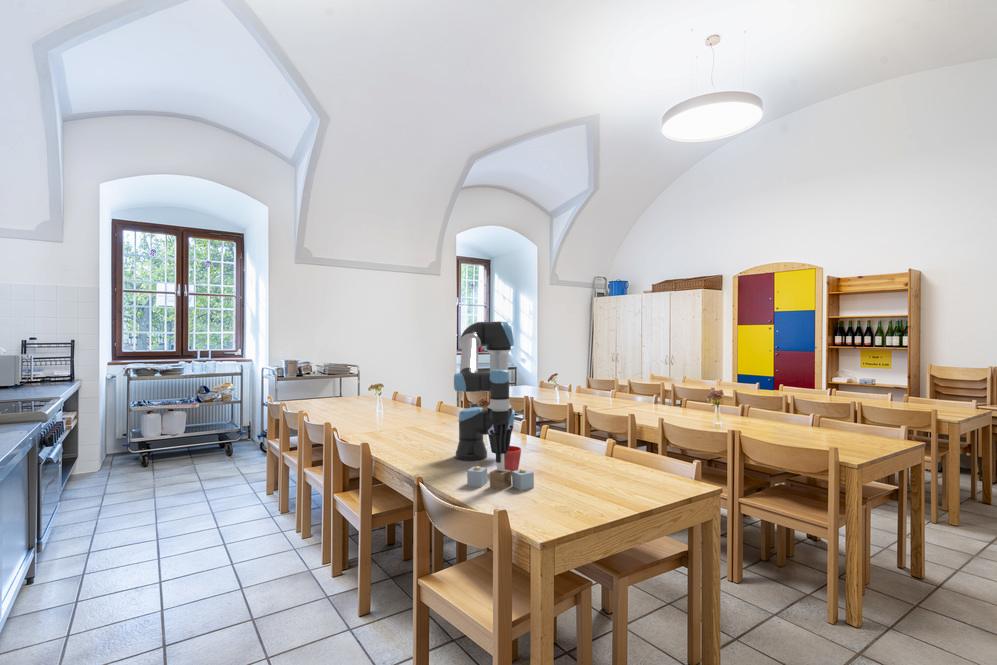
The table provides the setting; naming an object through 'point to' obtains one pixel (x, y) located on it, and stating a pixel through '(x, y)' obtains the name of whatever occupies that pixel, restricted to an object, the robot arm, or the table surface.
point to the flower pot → (512, 458)
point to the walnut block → (500, 479)
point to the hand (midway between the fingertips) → (500, 470)
